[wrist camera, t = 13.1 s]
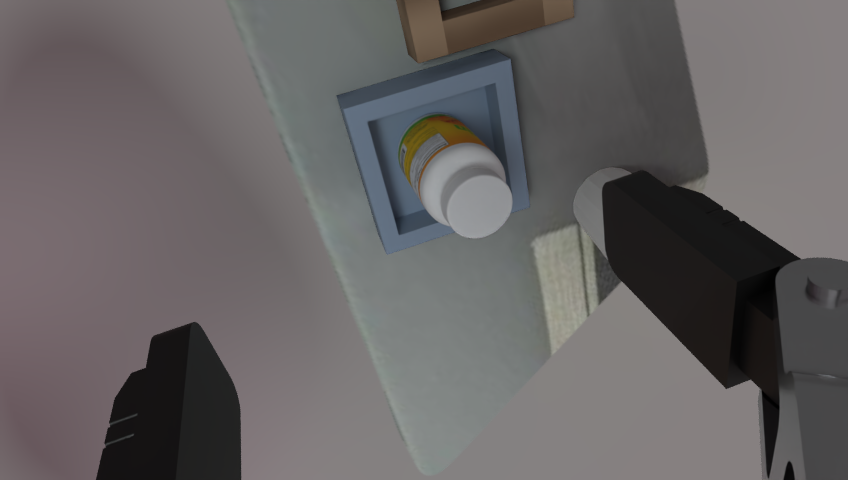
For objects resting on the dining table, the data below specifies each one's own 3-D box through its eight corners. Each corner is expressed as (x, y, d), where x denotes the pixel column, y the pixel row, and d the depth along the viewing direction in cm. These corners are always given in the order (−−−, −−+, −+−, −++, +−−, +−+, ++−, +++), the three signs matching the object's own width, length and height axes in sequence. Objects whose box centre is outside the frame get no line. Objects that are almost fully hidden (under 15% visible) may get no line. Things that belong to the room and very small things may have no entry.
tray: (336, 95, 39) (343, 109, 36) (493, 48, 40) (510, 59, 38) (378, 234, 45) (386, 254, 42) (514, 190, 46) (530, 206, 44)
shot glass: (647, 214, 51) (700, 255, 45) (575, 248, 51) (619, 294, 45) (635, 145, 47) (692, 180, 41) (557, 182, 47) (603, 223, 41)
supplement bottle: (484, 145, 43) (542, 202, 35) (431, 198, 44) (476, 265, 36) (435, 94, 40) (486, 143, 32) (379, 152, 41) (415, 214, 33)
